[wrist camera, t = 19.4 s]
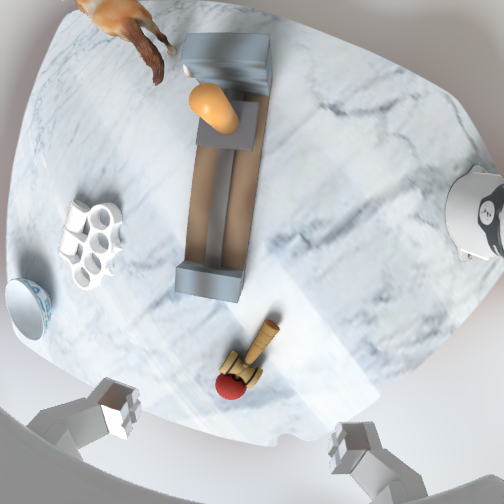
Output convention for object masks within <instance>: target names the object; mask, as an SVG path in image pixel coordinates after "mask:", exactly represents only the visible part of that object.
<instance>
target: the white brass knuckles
mask: <svg viewBox="0 0 504 504" xmlns="http://www.w3.org/2000/svg"><path fill="white" fill-rule="evenodd" d="M102 208H104V209H106V210H107V211H108V213H109V216H110V223H109V225H108V226H105V225H103V224H102V223H101V221H100V218H99V213H100V210H101V209H102ZM87 217H88V221H89V224H90V231H89V234H88V236H87V235H86V234H84V233H83V228H84V225H85V222H86V219H87ZM122 222H123V218H122V214H121V211H120V209H119V208H118V207H117V206H116V205H115V204H113V203H102V204H97V205H95V206H93V207H92V208H91V209H90V208H89V207H88V206H87V205H86V204H84V203H83V202H81V201H78V200H75V199H74V200H73V201H71V207H70V210H69V213H68V216H67V220H66V223H65V225H64V227H63V228H64V230H63V234H62V237H61V241H60V245H59V247H58V253H59V255H60V256H61V257H62V258H64V259H65V260H66V261H68V262H69V263H70V265H71V268H72V275H73V279H74V281H75V283H76V284H77V285H78V286H79V287H80V288H81V289H83V290H91V289H93V288H94V287H96V286H98V285H99V284H100V283H101V278H102V276H103V275H104V274H108V275H111V276H113V273H112V270H111V268H112V267H113V265H114V264H113V260H114V256H115V254H116V253H117V252H118V251H119V250H123V249H122V247H121V246H120V239H119V227H120V225H121V223H122ZM100 232H101V233H103V234H105V235H106V237H107V238H108V242H109V247H108V249H106V248H103V247H102V246H101V245H100V243H99V240H98V235H99V233H100ZM79 243H80V244H81V245H82V246H83V253H82V257H81V259H80V258H79V256H78V255H77V254H76V252H77V248H78V245H79ZM92 253H94V254H95V255H96V256H97V257H98V258H99V260H100V262H101V269H99V268H98V267H97V266H96V264H95V263H94V261H93V259H92ZM82 267H83V268H84V269H85V270H86V271H87V272H88V274H89V276H90V281H89V280H87V278H86V277H85V276H84V274H83V272H82Z"/></svg>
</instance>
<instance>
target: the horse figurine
mask: <svg viewBox="0 0 504 504" xmlns="http://www.w3.org/2000/svg"><path fill="white" fill-rule="evenodd" d="M62 1H64V0H62ZM75 1H76V4H77V6H78V8H79V10H80V11H81V12H83V13H86V15H87V16H89V18H90V20H91V22H92V23H93V24H94V25H95V26H96V27H97V28H99V29H100V30H102V31H103V32H104V33H106V34H109V35H111V36H119V37H120V38H121V39H123V40H125V41H129V42H132V43H133V44H134V46H135V47H136V48H137V52H139V55H140V57H143V60H144V61H145V62H146V65H147V66H149V67H151V68H152V70H153V83H155V86H157V85H158V84H160V83H161V82H162V81H163V78H164V61H163V59H162V56H161V54H160V53H159V52H158V49H157V47H156V46H155V45H154V44H153V43H152V42H151V41H150V40H149V39H148V38H147V37H146V36H145V35H144V33H143V32H142V30H141V28H140V27H145V28H146V29H147V30H149V31H150V32H152V33H154V34H155V35H156V37H157V38H158V40H159V41H161V42H163V43H164V44H165V45H166V46H167V48H168V52H167V53H168V54H169V55H174V54H175V53H176V49H175V48H174V47H173V46H172V45H170V43H169V42H168V40H167V37H166V36H165V35H164V34H162V33H161V32H160V31H159V29H158V27H157V25H156V24H155V23H154V22H153V21H152V17H151V15H150V13H149V12H148V11H147V10H146V9H145V8H144V7H143V6H142V5H141V4H140V3H139V2H138V1H136V0H75Z"/></svg>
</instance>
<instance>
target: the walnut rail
mask: <svg viewBox="0 0 504 504" xmlns="http://www.w3.org/2000/svg"><path fill="white" fill-rule="evenodd" d="M180 60H181V61H182V62H183V68H184V73H185V75H186V76H187V77H195V78H196V79H197V81H198V82H199V83H200V84H203V83H214V84H216V85H218V86H219V87H220V88H221V89H222V91H223V92H224V94H225V96H226V97H227V99H228V100H234V101H246V102H256V103H259V114H258V121H257V128H256V134H255V141H254V148H253V152H251V151H243V150H234V149H224V148H213V147H201V146H198V145H197V151H196V158H195V165H194V173H193V181H192V189H191V198H190V207H189V216H188V226H187V237H186V249H185V260H184V261H183V262H182V263H181V264H180V265H178V266H177V267H176V277H175V292H179V293H184V294H189V295H194V296H200V297H205V298H211V299H216V300H222V301H227V302H233V303H238V301H239V298H240V295H241V292H242V287H243V280H244V273H245V265H246V258H247V251H248V244H249V236H250V229H251V222H252V215H253V208H254V201H255V194H256V187H257V179H258V172H259V165H260V158H261V151H262V144H263V137H264V130H265V124H266V117H267V110H268V103H269V96H270V89H271V82H272V67H271V50H270V36H269V35H263V34H249V33H188V34H187V35H186V39H185V42H184V46H183V50H182V54H181V58H180Z"/></svg>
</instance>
